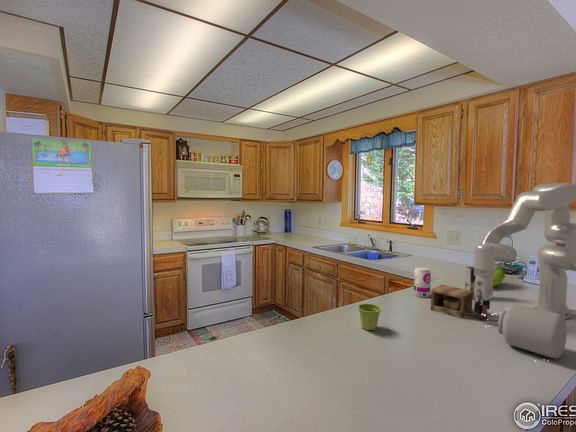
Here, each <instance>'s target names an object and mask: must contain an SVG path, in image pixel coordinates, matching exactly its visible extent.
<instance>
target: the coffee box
mask: <svg viewBox="0 0 576 432" xmlns="http://www.w3.org/2000/svg"><path fill="white" fill-rule="evenodd" d="M464 278H465V281H464V289H466V290H471V291H473V300H475V297H474V287H475V279H476V276H475V275H474V266H465V277H464ZM479 298H480V297H479Z"/></svg>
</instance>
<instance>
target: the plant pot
mask: <svg viewBox="0 0 576 432" xmlns="http://www.w3.org/2000/svg"><path fill="white" fill-rule="evenodd" d="M357 308H358V310H359V311H358V312H359V316H360V325H361V328H362V329H363V330H365V329H366V330H365V331H368V330H373V331H376V330H377V329H378V328H377V327H378V323H379V317H380V314H381V311H382V308H381V306H379V305H377V304H374V303H367V302H366V303H360V304H359V305H357Z"/></svg>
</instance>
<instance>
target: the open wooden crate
mask: <svg viewBox="0 0 576 432" xmlns="http://www.w3.org/2000/svg"><path fill="white" fill-rule="evenodd" d="M430 298H431V299H430V311H434V312H437V313H441V314H445V315H448V316H451V317H456V318H459V319H464V318H465V313H464V311H466V312H470V313H473V300H474V299H473V291H471V290H466V289H465V288H460V287H455V286H450V285H446V284H440V285H438V286H436V287H434V288H430ZM447 298H450V299H454V300H458V301H459V310H460V311H456V310H453V309H449V308H445V307H444V300H446V299H447Z"/></svg>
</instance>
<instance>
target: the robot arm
mask: <svg viewBox="0 0 576 432" xmlns="http://www.w3.org/2000/svg"><path fill="white" fill-rule="evenodd" d="M575 201H576V184H574V183H572V182H571V183H570V182H561V183H560V182H559V183H557V182H556V183H554V182H553V183H552V182H551V183H542V184H537V185H535V186H534V187H533V189H532V190H531V191H524V192H521V193H519V194H518V195H517V196H516V198H515V201H514V202H513V204H512V206H511V208H510V210H509V212H508V213H507V215H506V217H505V219H504V220H503V221H502V222H500V223H498V225H496V226H495V227H494V228H492V229H491V230H490V231H489V232H488V234H487V235H486V236H485V238H484V240H483V241H482V243H478V244H476V246H475V248H474V249H475V250H474V265H473V267H474V275H475V276H476V279H475V287H474V297H475V299H473V300H474V302H473V304H474V305H473V313H474V314H481V315H482V314H483V305H486V306H487V310H490V307H491V306H490V305H491V304H490V303H491V301H490V300H491V299H492V298H493V295H494V286H493V278H494V269H495V265H496V262H497V263H498V262H500V263H511V262H513V261H515V260H516V258H517V257H518V256H517V255H518V252H517V250H516V249H515V248H514V247H513V246H511V245H508V244H503V243H501V242H502V241H503V239H505V238H507V237H508V236H510V235H512V234H515V233H518V232H519V233H520V232H521V231H524V230H526V229H527V228H528V226H529V225H530V223H531V221H532V219H533V217H534V215H535V213H536V212H537V211H538V212H544V213H545V215H544V216H545V217H544V218H545V219H544V229H543V230H544V231H543V232H544V234H543V236H544V238H545V240H546V241H548V242H550V243H554V244H563V245H567V247H566V246H562V245H561V246H560V245H553V244H550V245H545V246H542V247H541V248H539V251H538V254H537V257H538V262H539V268H540V269H539V271H540V272H539V289H538V290H539V291H538V292H539V293H538V306H536V307H533V308H534V309H539V310H543V311H548V312H552V313H557V314H560V315H561V316H563V318H564V319H565V320H567V319H570V318H571V315H573V316H576V309H571V308H569V307H568V305H567V293H568V275H567V272H566V270H567V271H571V272H576V223H575V222H571V210H570V207H569V204H573V203H574V202H575ZM479 297H480V298H479Z"/></svg>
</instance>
